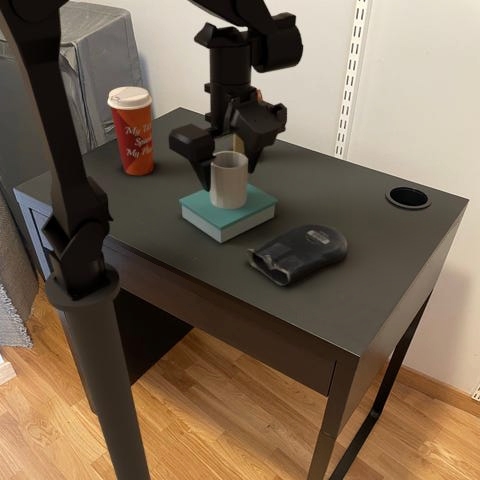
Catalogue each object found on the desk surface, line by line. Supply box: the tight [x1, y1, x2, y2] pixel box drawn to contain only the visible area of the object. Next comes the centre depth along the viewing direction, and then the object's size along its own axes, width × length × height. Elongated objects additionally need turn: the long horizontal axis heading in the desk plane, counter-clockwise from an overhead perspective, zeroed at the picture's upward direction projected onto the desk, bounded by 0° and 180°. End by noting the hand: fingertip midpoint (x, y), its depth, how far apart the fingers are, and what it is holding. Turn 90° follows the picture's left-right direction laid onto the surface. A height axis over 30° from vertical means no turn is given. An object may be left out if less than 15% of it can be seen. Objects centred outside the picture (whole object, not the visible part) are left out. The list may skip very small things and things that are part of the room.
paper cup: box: [107, 86, 154, 176], centre depth 88 cm, size 8×8×14 cm
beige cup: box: [210, 150, 249, 209], centre depth 77 cm, size 6×6×7 cm
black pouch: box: [245, 223, 348, 286], centre depth 73 cm, size 9×6×15 cm
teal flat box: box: [178, 182, 279, 244], centre depth 81 cm, size 13×11×3 cm
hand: (229, 181), depth 77 cm, fingers open, 9 cm apart
